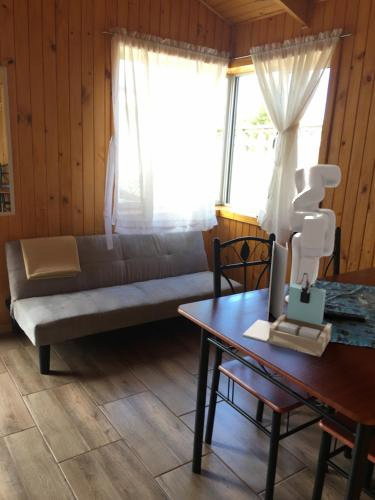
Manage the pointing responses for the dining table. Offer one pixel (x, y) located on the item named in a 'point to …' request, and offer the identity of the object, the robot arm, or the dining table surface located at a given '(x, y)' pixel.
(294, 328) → the offcut
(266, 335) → the mat
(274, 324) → the crate
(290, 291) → the teal rectangular block
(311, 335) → the offcut
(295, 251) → the robot arm
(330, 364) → the dining table surface
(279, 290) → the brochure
